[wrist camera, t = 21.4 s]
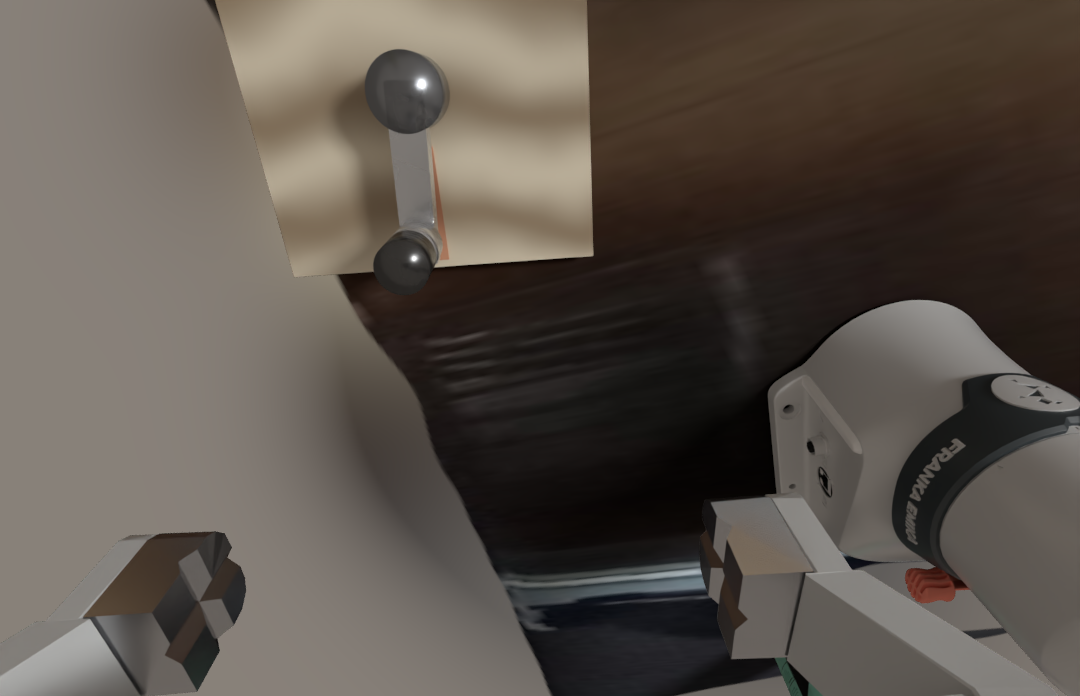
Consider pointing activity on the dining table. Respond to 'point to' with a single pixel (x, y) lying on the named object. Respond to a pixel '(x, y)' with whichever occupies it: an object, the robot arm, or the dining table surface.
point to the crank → (409, 162)
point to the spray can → (795, 680)
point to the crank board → (456, 140)
